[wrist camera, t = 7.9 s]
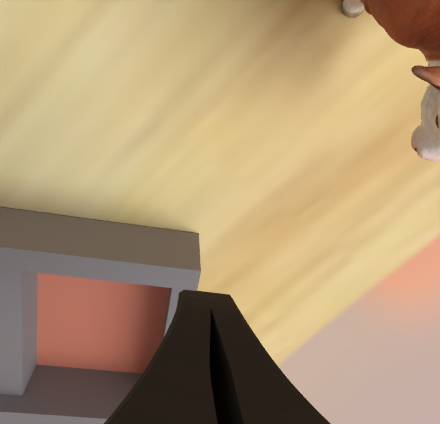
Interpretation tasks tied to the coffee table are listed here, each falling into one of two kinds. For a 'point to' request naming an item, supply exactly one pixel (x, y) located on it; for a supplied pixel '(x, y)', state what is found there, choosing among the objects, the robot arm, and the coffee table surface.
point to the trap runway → (83, 311)
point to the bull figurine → (419, 39)
